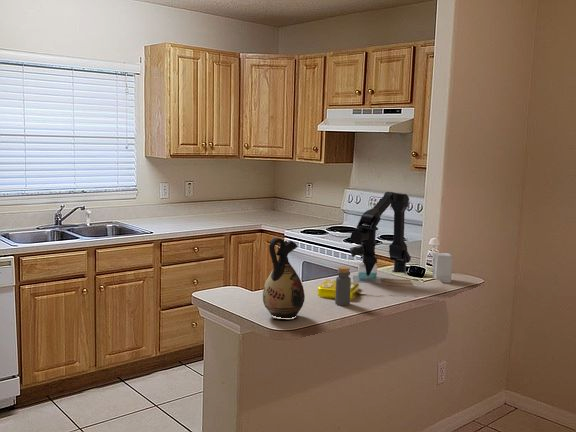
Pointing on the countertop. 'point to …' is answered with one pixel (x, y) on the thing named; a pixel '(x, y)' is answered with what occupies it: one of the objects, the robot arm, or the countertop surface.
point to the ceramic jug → (283, 283)
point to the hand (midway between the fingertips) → (367, 274)
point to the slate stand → (366, 280)
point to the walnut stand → (399, 283)
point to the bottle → (343, 286)
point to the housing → (363, 272)
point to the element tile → (329, 289)
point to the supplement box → (442, 267)
